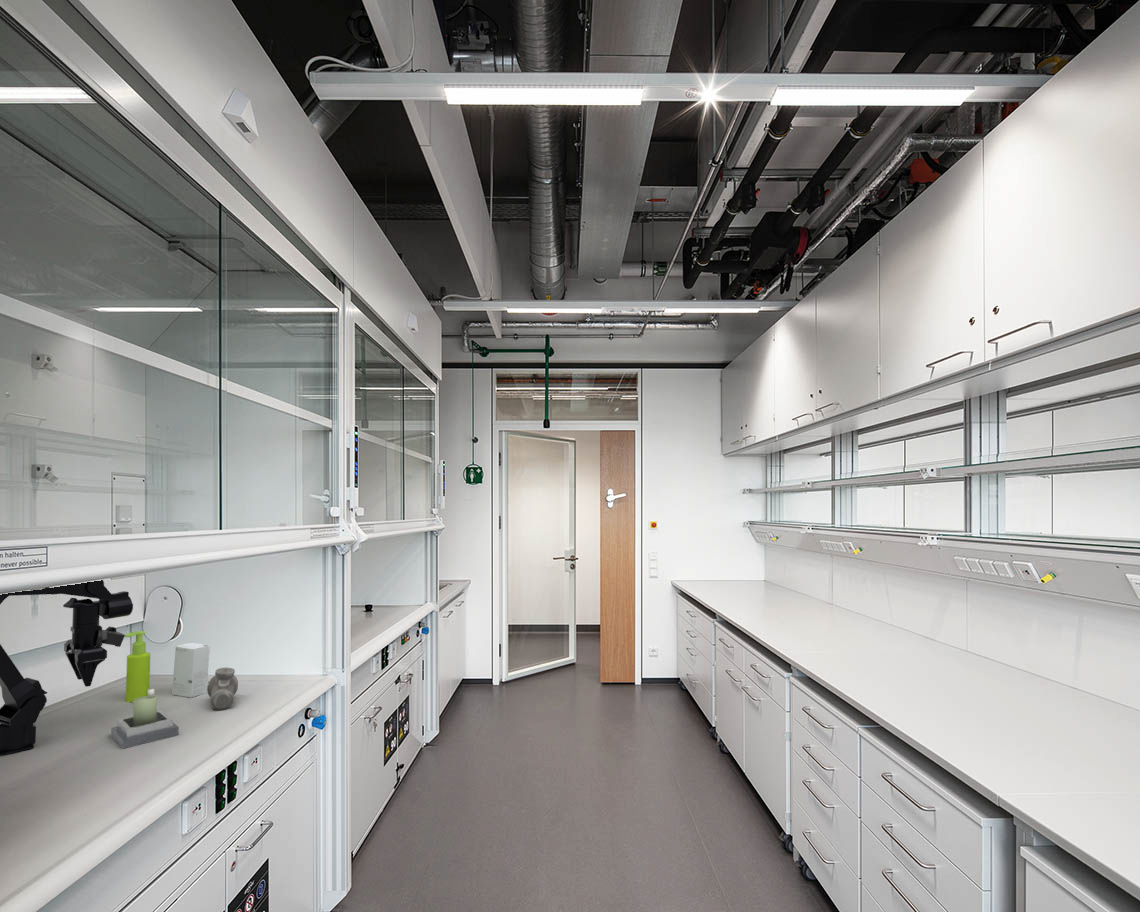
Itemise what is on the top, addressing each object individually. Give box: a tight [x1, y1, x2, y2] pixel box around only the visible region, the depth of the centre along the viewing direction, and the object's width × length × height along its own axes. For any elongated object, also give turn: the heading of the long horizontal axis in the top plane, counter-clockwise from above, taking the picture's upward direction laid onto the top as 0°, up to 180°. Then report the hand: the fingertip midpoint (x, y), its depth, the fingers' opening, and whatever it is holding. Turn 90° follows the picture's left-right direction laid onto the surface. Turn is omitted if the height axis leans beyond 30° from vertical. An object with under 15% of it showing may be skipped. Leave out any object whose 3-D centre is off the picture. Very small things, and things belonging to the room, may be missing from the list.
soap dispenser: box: [124, 630, 151, 703], centre depth 196 cm, size 6×7×20 cm
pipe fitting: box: [207, 667, 239, 711], centre depth 190 cm, size 12×8×10 cm
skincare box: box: [171, 642, 211, 699], centre depth 201 cm, size 8×6×15 cm
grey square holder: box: [110, 709, 180, 749], centre depth 167 cm, size 12×12×4 cm
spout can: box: [132, 688, 158, 727], centre depth 167 cm, size 5×5×9 cm
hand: (84, 682), depth 172 cm, fingers open, 9 cm apart
